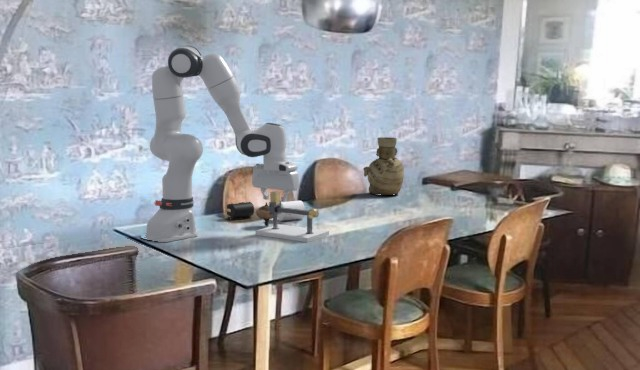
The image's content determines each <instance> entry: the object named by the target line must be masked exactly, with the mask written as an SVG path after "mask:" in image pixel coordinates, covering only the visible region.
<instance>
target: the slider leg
mask: <svg viewBox="0 0 640 370" xmlns="http://www.w3.org/2000/svg"><path fill="white" fill-rule="evenodd" d="M280 197H281V194H280V191H276V190H275V191H270V195H269V199H270V202H269V203H268V206H269V215H273V218H272V226H273V227H274V228H276V227H277V225H278V217H277V214H281V212H275V207H281V202H282V201H281V199H280Z"/></svg>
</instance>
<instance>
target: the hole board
mask: <svg viewBox="0 0 640 370" xmlns="http://www.w3.org/2000/svg"><path fill="white" fill-rule="evenodd" d="M255 235H256V236H262V237H271V238H275V239H283V240H291V241H296V242H304V243H309V242H312V241H315V240H318V239H320V238H324V237H327V236H329V235H330V230H323V229H318V228H317V229H316V228H312V233H307V227H300V226H295V225H294V226H293V225H287V224H278V223H277V227H276V228H274V227H273V225H272V226H266V227H264V228H260V229H258V230H255Z"/></svg>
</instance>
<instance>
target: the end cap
mask: <svg viewBox="0 0 640 370" xmlns="http://www.w3.org/2000/svg"><path fill="white" fill-rule="evenodd" d="M226 209H228V210H230V211H226V215H227V219H228V218H231V219H230V220H232V219H233V220H240V219H246V218H247V219H248V218H251V217H252V216H253V215H254V213H255V206H254V204H253V202H251V201H246V202H244V201H242V202H238V203H228V204H227V205H226Z"/></svg>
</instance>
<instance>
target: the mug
mask: <svg viewBox="0 0 640 370" xmlns="http://www.w3.org/2000/svg"><path fill="white" fill-rule="evenodd" d="M281 207H283V208H291V209H300V210H306V207H305V205H304V202H303V201H302V200H289V201H288V200H287V201H286V202H283V201H281ZM304 218H305V215H299V214H291V213H283V212H281V214H277V220H278V221H281V222H283V221H285V222H286V221H295V220H303V219H304Z"/></svg>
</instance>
